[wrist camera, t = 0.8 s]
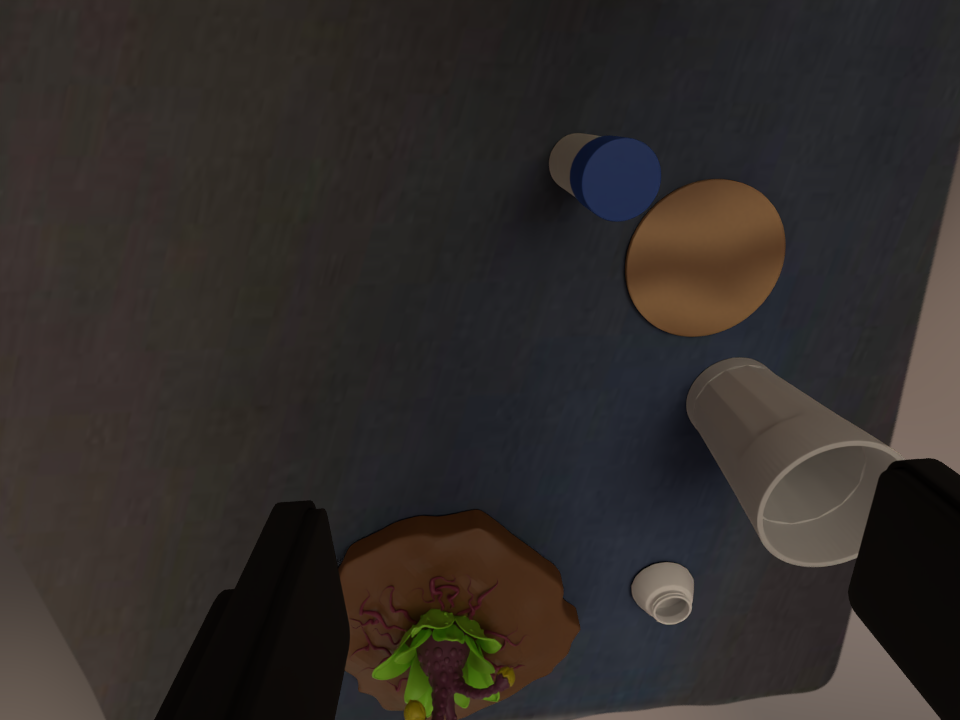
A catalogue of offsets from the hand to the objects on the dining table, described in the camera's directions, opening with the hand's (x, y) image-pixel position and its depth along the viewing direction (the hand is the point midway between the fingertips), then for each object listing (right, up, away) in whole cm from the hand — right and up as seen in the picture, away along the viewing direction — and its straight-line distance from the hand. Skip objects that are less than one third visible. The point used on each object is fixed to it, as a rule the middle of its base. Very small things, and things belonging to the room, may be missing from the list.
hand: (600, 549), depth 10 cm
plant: (-5, -17, +37) cm, 41 cm away
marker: (+4, +15, +23) cm, 28 cm away
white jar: (+13, -15, +37) cm, 42 cm away
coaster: (+12, +10, +26) cm, 30 cm away
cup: (+16, +1, +30) cm, 34 cm away
